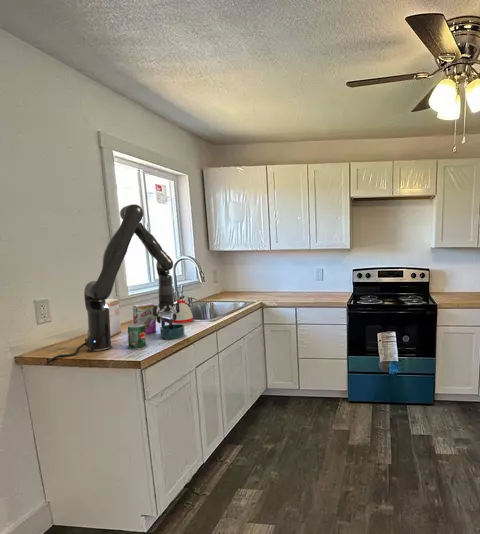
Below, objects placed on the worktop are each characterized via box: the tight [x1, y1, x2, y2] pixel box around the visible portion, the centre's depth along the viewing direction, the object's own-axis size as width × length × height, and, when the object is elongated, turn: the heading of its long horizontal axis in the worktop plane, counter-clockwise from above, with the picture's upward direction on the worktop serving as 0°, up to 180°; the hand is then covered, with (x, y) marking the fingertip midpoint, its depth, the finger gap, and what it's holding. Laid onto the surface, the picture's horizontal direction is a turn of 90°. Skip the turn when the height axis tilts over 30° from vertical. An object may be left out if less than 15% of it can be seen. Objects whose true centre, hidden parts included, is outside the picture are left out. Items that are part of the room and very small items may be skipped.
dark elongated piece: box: [160, 316, 174, 329], centre depth 195 cm, size 16×5×9 cm, turn 43°
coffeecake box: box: [105, 298, 122, 337], centre depth 193 cm, size 15×7×20 cm, turn 175°
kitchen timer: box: [170, 297, 194, 324], centre depth 229 cm, size 14×14×15 cm
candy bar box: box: [132, 303, 157, 335], centre depth 197 cm, size 11×5×16 cm, turn 141°
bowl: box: [159, 323, 186, 340], centre depth 190 cm, size 12×13×6 cm
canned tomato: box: [127, 323, 147, 350], centre depth 172 cm, size 8×8×11 cm
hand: (166, 321), depth 195 cm, fingers open, 8 cm apart
